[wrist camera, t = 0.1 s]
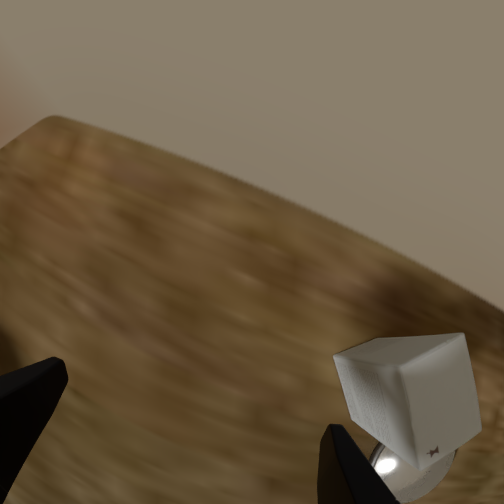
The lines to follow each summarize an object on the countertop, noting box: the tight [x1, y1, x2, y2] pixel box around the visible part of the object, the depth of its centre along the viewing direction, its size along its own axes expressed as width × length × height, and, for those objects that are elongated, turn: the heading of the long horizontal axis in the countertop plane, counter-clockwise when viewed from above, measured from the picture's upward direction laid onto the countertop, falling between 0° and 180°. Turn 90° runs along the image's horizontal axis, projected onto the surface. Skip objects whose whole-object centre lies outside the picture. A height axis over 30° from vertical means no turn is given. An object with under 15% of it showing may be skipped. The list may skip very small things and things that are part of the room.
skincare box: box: [333, 333, 482, 471], centre depth 17 cm, size 6×4×12 cm
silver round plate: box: [369, 442, 455, 504], centre depth 19 cm, size 9×9×1 cm
